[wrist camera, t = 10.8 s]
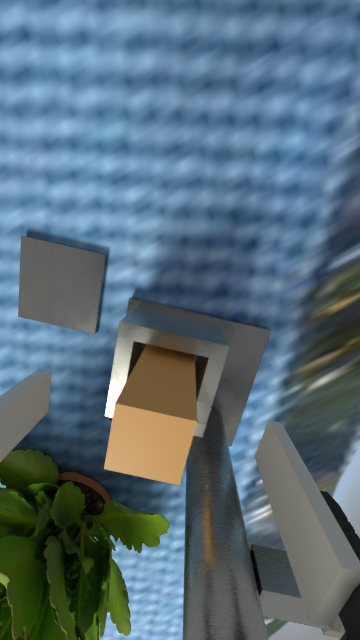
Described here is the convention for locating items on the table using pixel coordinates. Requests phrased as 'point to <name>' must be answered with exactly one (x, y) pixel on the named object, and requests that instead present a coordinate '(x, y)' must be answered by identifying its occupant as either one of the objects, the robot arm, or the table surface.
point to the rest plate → (61, 284)
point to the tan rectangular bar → (155, 417)
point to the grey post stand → (215, 475)
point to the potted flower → (63, 551)
